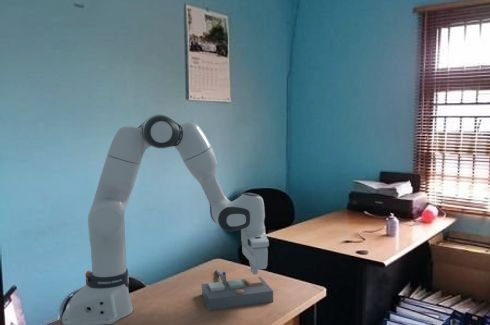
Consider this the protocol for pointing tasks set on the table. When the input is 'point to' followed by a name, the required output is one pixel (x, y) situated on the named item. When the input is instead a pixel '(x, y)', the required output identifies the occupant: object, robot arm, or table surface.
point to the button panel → (237, 295)
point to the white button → (216, 286)
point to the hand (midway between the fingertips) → (254, 273)
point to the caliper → (221, 275)
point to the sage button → (235, 284)
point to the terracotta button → (253, 282)
